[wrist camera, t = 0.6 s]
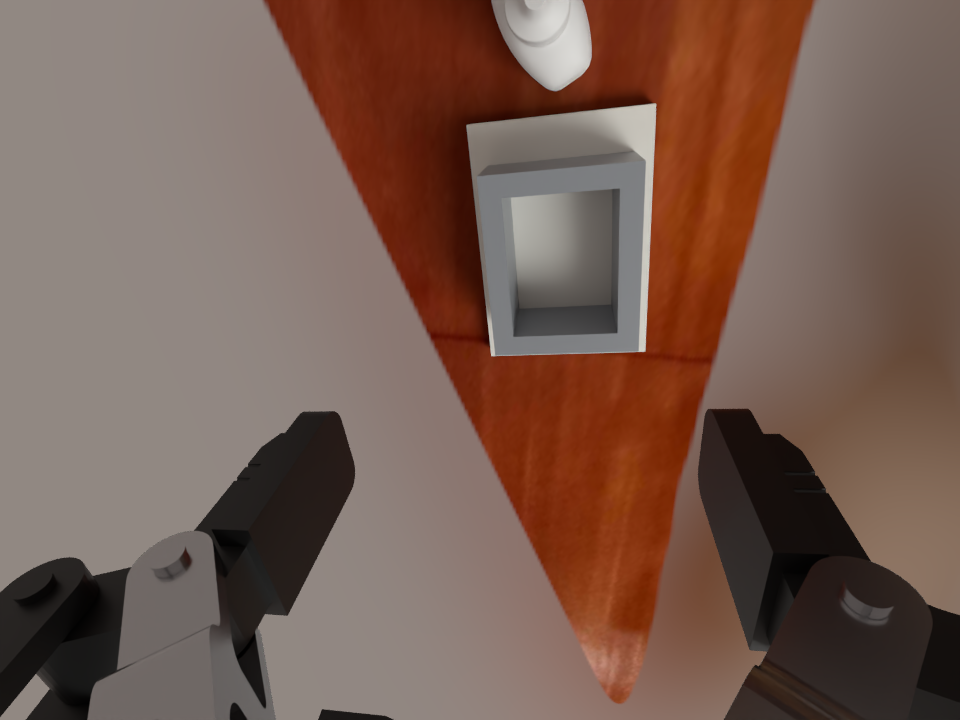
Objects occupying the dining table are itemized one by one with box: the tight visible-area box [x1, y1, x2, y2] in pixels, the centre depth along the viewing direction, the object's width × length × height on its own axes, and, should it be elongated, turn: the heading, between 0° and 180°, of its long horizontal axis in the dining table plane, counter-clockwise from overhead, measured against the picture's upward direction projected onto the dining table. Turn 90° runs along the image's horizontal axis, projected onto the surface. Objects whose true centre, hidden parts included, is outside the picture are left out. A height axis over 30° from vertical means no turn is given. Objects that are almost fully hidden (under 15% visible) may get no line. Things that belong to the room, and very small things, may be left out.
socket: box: [466, 103, 656, 356], centre depth 30 cm, size 15×10×6 cm
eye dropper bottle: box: [491, 0, 592, 91], centre depth 22 cm, size 4×6×12 cm
